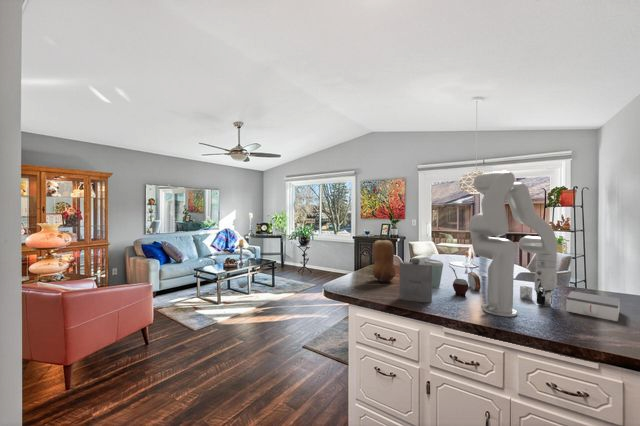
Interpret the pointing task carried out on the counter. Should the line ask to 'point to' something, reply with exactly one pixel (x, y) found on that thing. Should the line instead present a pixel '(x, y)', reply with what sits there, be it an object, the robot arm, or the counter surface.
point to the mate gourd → (460, 286)
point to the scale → (593, 305)
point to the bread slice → (474, 281)
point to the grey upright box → (415, 281)
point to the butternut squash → (384, 261)
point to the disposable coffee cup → (435, 271)
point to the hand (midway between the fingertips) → (544, 303)
